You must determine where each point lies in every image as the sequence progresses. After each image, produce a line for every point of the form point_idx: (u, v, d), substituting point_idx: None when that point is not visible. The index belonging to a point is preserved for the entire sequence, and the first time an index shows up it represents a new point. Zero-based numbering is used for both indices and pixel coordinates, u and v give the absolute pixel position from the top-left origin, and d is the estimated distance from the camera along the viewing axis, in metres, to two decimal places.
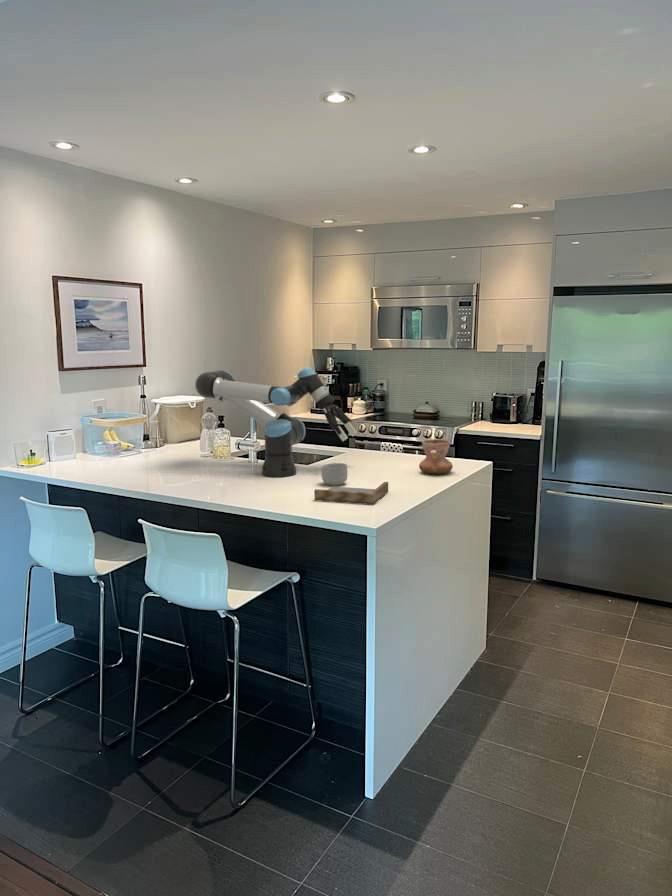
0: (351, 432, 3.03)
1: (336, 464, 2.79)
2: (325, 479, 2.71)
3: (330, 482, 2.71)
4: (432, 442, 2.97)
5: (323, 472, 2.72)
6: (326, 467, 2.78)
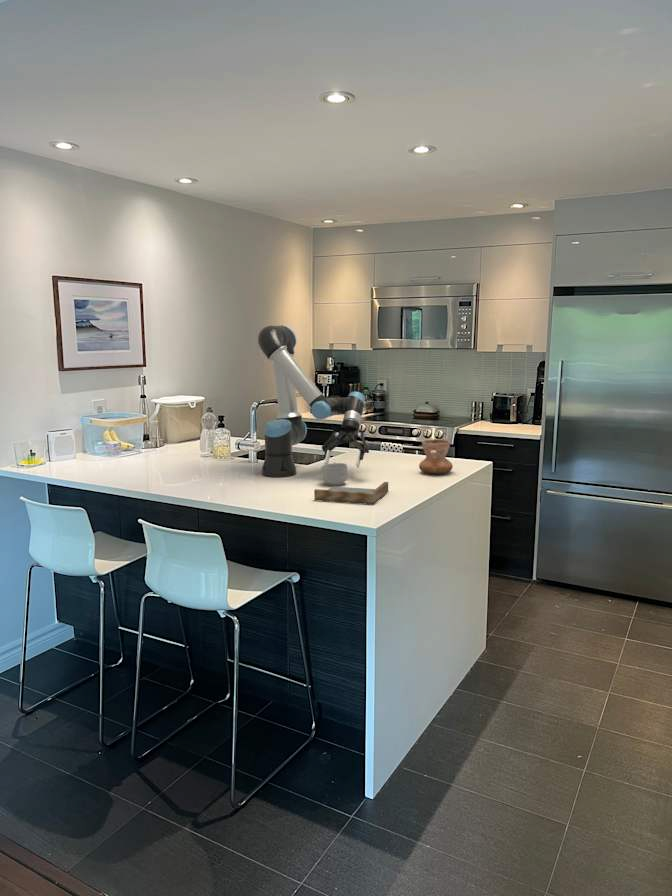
0: (327, 460, 2.80)
1: (336, 464, 2.79)
2: (325, 479, 2.71)
3: (330, 482, 2.71)
4: (432, 442, 2.97)
5: (323, 472, 2.71)
6: (326, 467, 2.78)
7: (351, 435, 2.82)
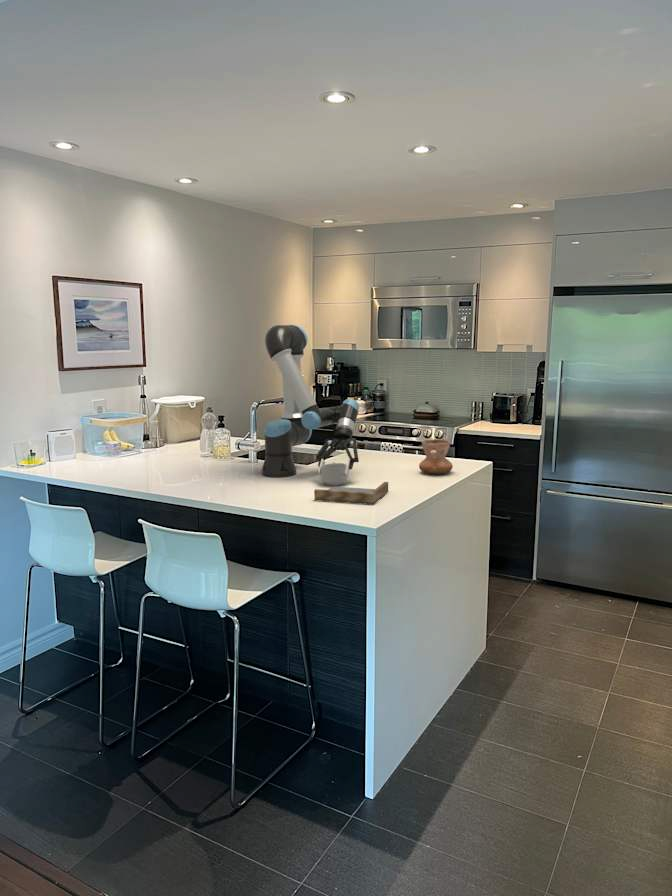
0: None
1: (335, 464, 2.78)
2: (325, 479, 2.71)
3: (330, 482, 2.70)
4: (432, 442, 2.97)
5: (323, 472, 2.71)
6: (325, 467, 2.77)
7: (343, 443, 2.79)
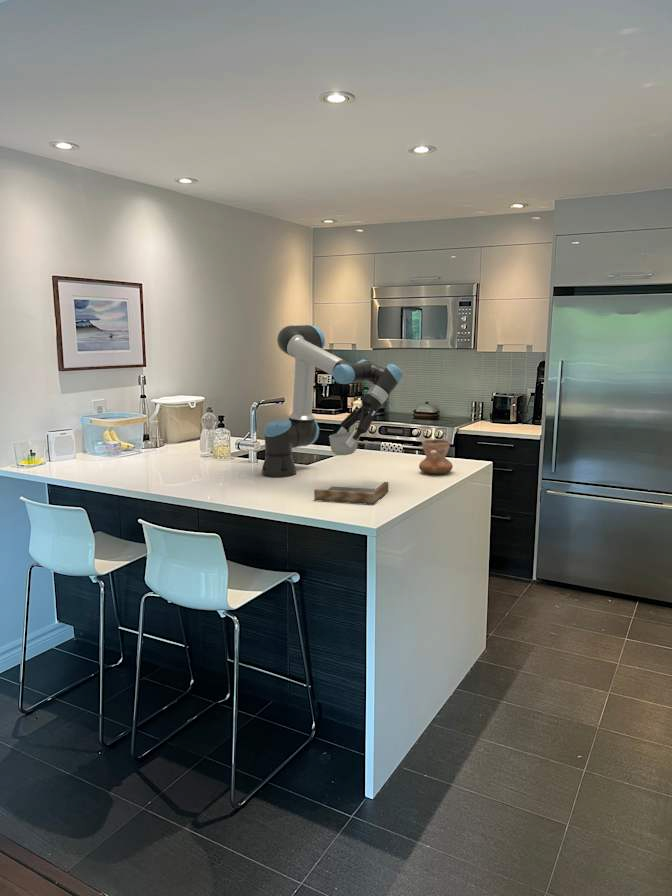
0: None
1: None
2: None
3: (333, 451, 2.58)
4: (432, 442, 2.97)
5: None
6: (343, 436, 2.64)
7: (362, 411, 2.59)
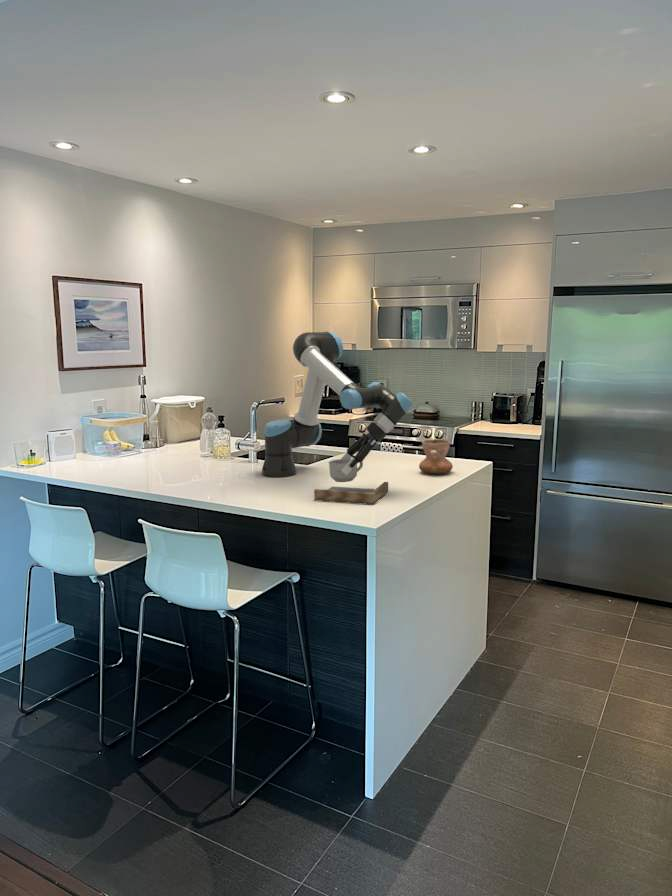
0: None
1: None
2: None
3: (331, 477, 2.55)
4: (432, 442, 2.97)
5: None
6: (346, 462, 2.59)
7: (364, 439, 2.53)
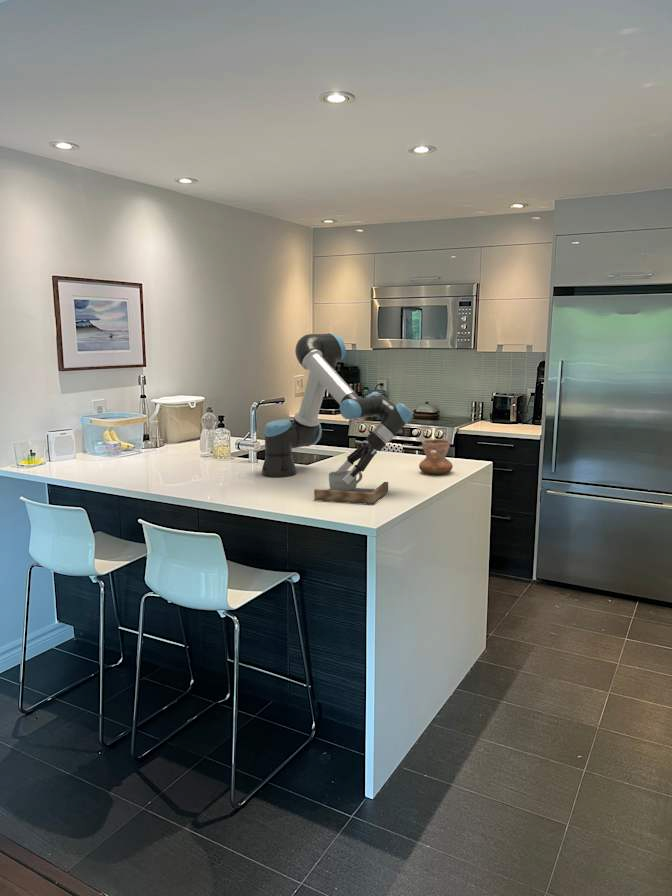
0: (340, 470, 2.62)
1: None
2: None
3: None
4: (432, 442, 2.97)
5: None
6: (346, 474, 2.60)
7: (364, 449, 2.54)
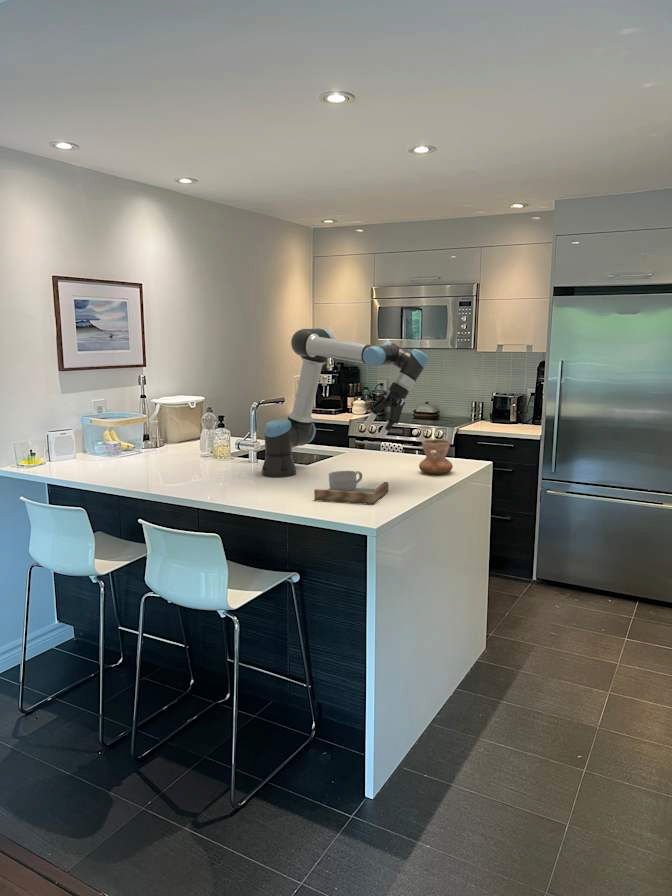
0: (367, 423, 2.72)
1: (354, 473, 2.57)
2: None
3: None
4: (432, 442, 2.97)
5: None
6: (346, 474, 2.60)
7: (390, 401, 2.63)
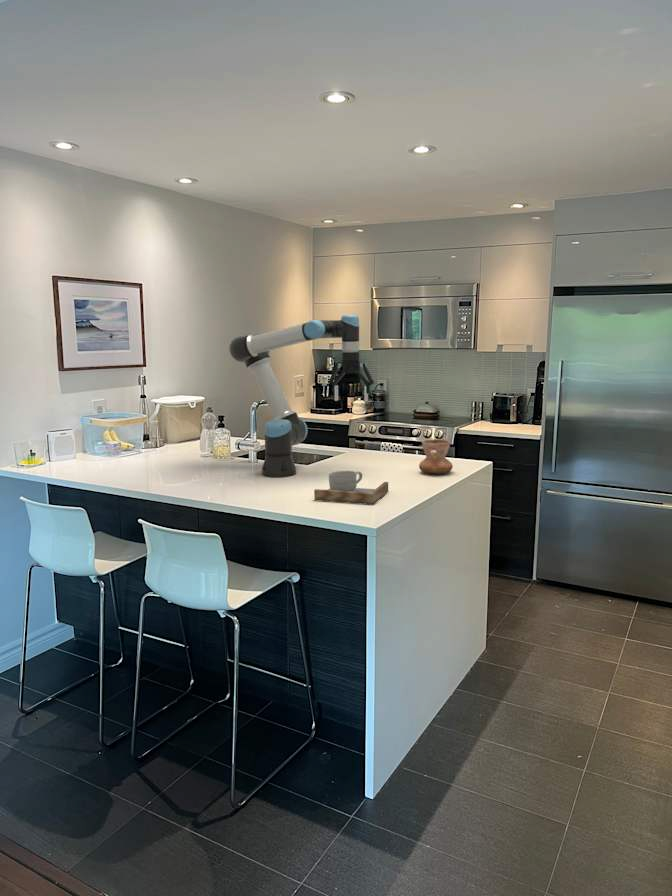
0: (336, 396, 2.94)
1: (354, 473, 2.57)
2: None
3: None
4: (432, 442, 2.97)
5: None
6: (346, 474, 2.60)
7: (354, 369, 2.88)
